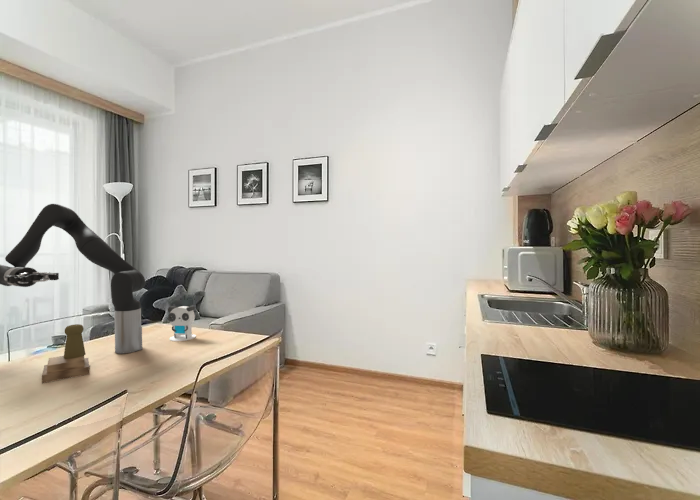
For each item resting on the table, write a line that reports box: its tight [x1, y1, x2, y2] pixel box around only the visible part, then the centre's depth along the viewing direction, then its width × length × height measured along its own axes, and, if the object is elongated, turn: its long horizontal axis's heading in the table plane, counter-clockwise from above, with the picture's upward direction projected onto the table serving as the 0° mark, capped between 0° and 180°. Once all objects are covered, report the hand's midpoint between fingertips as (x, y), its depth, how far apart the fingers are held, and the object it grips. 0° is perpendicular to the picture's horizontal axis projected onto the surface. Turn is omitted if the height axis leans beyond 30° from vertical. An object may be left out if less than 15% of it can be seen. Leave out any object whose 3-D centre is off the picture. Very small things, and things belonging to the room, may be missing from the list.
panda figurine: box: [167, 305, 197, 342], centre depth 159 cm, size 12×11×15 cm
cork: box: [63, 324, 86, 359], centre depth 118 cm, size 6×6×11 cm
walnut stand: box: [41, 355, 90, 384], centre depth 116 cm, size 12×12×5 cm
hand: (42, 278), depth 123 cm, fingers open, 8 cm apart
